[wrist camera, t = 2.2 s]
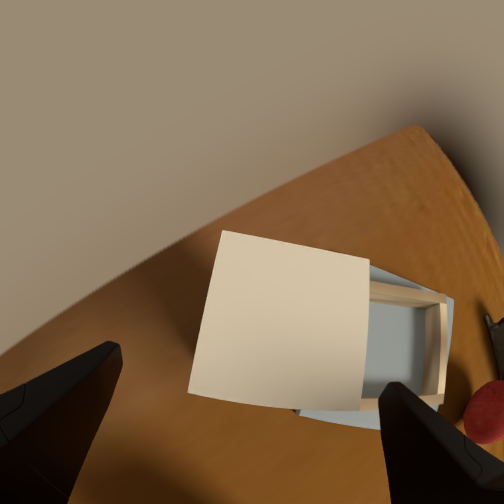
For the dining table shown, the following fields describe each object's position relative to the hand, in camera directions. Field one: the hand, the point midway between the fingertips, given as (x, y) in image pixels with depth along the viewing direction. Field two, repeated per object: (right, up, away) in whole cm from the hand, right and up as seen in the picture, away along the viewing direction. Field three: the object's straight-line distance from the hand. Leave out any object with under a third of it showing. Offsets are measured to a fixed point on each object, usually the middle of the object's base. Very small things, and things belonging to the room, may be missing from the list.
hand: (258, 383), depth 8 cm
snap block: (-1, -3, +10) cm, 10 cm away
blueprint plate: (+10, -4, +10) cm, 15 cm away
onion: (+20, -11, +8) cm, 24 cm away
